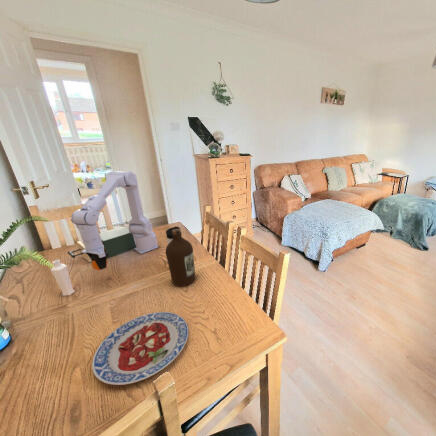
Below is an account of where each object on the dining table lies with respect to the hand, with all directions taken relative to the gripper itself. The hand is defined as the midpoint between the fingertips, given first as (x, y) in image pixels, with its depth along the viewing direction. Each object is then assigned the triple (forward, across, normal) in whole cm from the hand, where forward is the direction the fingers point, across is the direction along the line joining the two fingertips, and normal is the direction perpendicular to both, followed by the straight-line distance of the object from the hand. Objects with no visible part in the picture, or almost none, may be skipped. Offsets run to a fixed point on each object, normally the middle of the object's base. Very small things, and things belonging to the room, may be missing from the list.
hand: (100, 266), depth 102 cm
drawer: (+6, -25, +5) cm, 26 cm away
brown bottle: (+8, +27, +21) cm, 35 cm away
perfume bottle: (+8, -2, -12) cm, 14 cm away
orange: (+1, 0, 0) cm, 1 cm away
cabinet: (+8, -25, +15) cm, 30 cm away
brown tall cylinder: (+8, +15, +26) cm, 31 cm away
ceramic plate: (+7, +48, -6) cm, 49 cm away
